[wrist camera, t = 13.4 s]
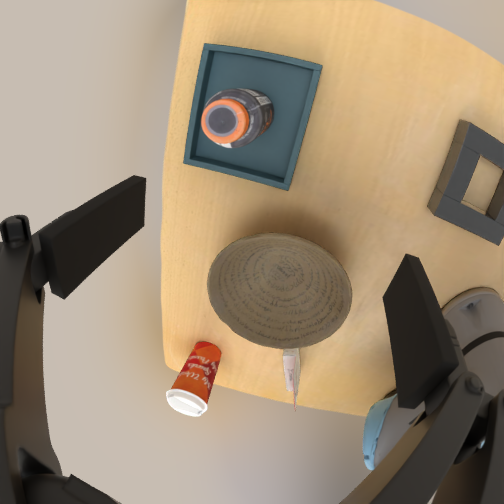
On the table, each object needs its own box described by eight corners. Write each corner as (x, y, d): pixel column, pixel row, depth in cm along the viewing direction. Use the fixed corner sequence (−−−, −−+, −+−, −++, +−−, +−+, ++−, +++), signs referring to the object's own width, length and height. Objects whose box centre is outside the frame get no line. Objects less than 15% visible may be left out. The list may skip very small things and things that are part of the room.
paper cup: (229, 346, 56) (207, 406, 44) (222, 367, 60) (202, 422, 48) (191, 332, 56) (163, 389, 44) (188, 354, 60) (163, 407, 48)
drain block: (490, 236, 33) (498, 246, 31) (426, 206, 34) (433, 215, 32) (523, 160, 26) (534, 167, 24) (459, 119, 27) (469, 122, 25)
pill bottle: (254, 145, 35) (227, 168, 25) (217, 116, 34) (177, 129, 24) (285, 109, 32) (270, 117, 22) (246, 79, 31) (215, 75, 21)
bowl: (338, 197, 37) (342, 224, 30) (354, 307, 45) (356, 344, 38) (207, 221, 42) (185, 249, 36) (244, 317, 51) (232, 352, 44)
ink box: (289, 370, 56) (282, 411, 48) (285, 332, 51) (277, 377, 42) (301, 371, 55) (295, 412, 47) (299, 333, 50) (293, 378, 42)
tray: (290, 184, 37) (288, 191, 35) (190, 158, 38) (183, 163, 36) (322, 67, 29) (322, 65, 27) (211, 45, 30) (204, 43, 27)
